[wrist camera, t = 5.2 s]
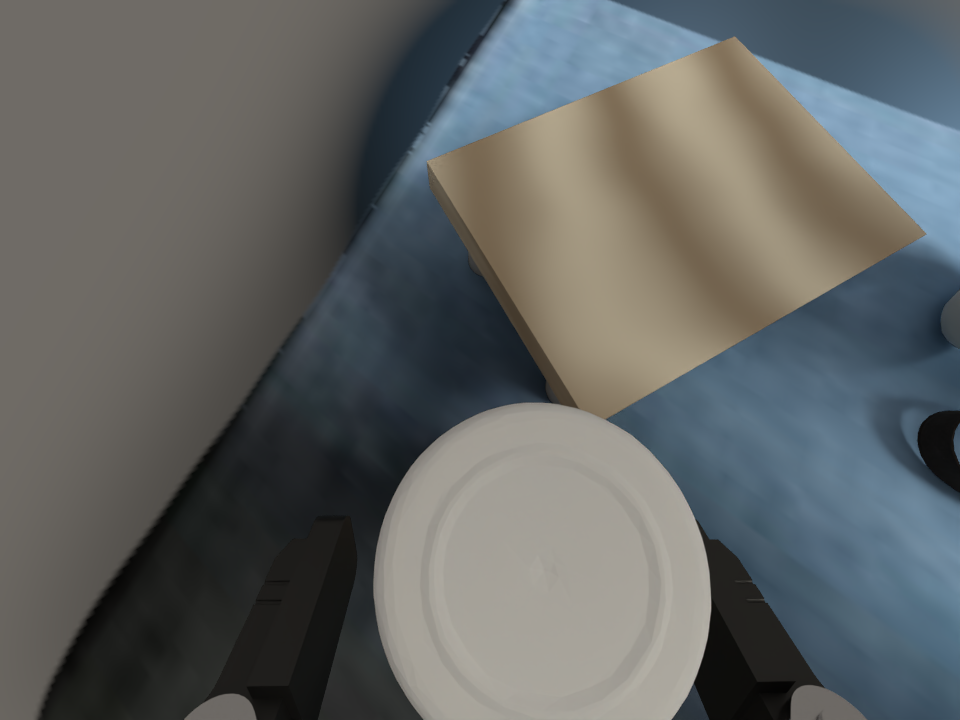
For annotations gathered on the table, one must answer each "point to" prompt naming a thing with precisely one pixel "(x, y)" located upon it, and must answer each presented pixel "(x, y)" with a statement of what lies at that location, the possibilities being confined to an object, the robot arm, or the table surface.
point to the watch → (941, 446)
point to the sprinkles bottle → (541, 573)
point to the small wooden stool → (662, 222)
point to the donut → (952, 320)
